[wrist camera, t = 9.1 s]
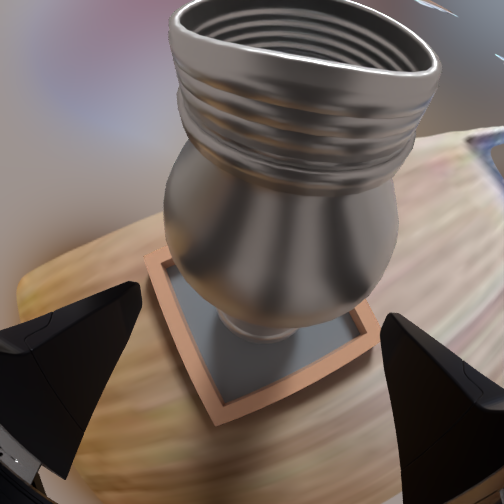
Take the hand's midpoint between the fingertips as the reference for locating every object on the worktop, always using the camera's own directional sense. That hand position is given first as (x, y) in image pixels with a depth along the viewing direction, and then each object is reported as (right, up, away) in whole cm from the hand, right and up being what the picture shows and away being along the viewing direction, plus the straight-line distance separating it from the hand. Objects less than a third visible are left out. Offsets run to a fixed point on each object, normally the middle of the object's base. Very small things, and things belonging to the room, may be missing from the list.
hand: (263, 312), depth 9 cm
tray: (0, -2, +13) cm, 13 cm away
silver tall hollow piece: (0, -2, +12) cm, 12 cm away
